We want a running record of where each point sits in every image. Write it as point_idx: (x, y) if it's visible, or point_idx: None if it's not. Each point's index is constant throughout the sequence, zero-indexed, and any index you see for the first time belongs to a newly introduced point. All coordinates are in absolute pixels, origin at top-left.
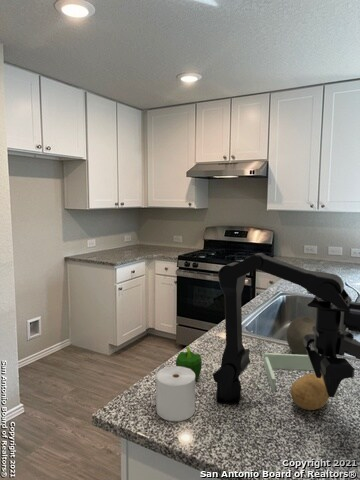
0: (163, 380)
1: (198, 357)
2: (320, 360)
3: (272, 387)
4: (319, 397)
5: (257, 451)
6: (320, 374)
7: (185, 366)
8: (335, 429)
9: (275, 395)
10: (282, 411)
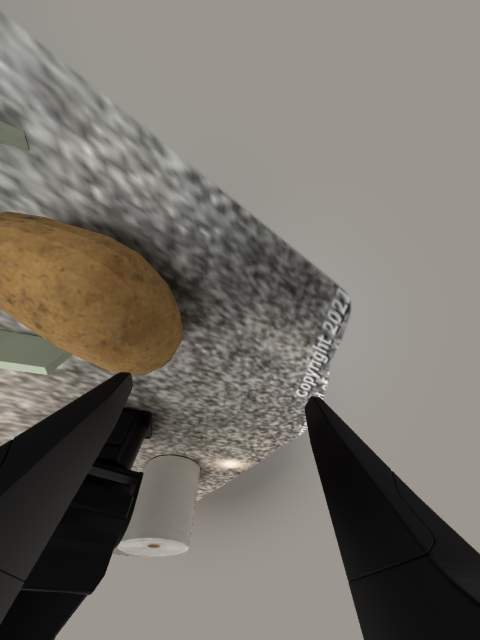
0: (173, 553)
1: None
2: (5, 530)
3: (69, 355)
4: (166, 313)
5: (271, 414)
6: (118, 392)
7: None
8: (237, 271)
9: None
10: None
